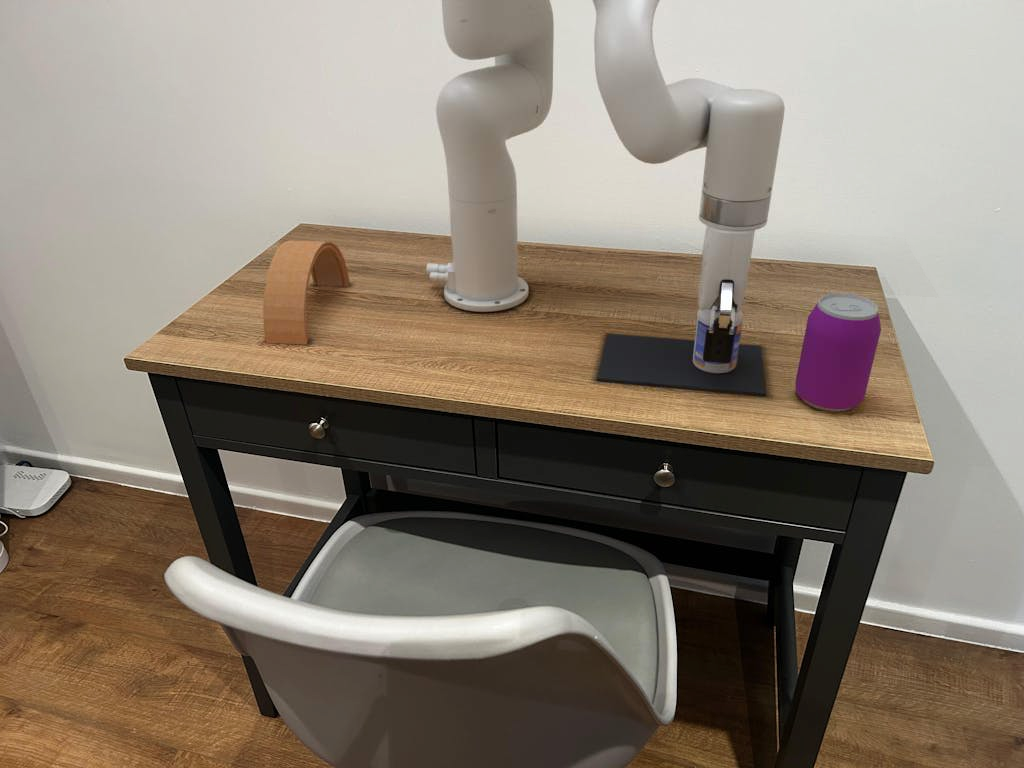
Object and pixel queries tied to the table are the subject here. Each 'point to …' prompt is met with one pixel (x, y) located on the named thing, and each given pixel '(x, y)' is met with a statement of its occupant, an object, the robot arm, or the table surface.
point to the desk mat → (677, 366)
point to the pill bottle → (701, 327)
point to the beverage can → (838, 352)
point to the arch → (298, 286)
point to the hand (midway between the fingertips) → (716, 341)
